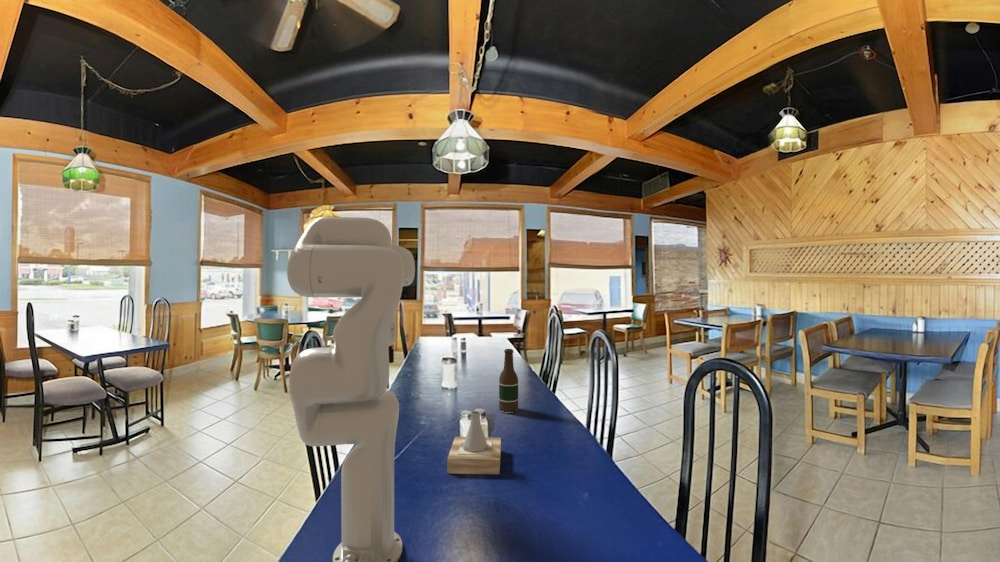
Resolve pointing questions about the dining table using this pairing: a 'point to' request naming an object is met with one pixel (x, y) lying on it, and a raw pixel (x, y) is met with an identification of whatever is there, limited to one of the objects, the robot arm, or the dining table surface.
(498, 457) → the plinth
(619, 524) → the dining table surface
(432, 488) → the dining table surface
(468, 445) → the flask
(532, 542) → the dining table surface
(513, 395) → the beer bottle
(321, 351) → the robot arm
